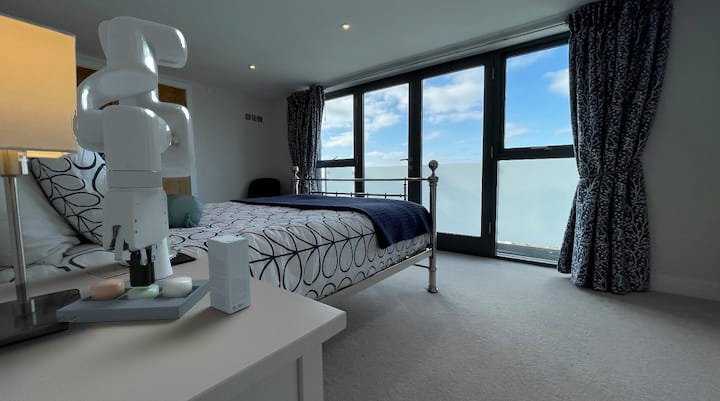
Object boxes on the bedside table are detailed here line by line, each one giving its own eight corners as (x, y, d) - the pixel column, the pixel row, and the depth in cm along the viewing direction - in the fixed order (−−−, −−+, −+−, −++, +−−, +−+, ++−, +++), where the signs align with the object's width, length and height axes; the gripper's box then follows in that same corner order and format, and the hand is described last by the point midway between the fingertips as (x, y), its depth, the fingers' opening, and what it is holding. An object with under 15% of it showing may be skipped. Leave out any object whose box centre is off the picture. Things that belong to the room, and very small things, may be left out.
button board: (115, 292, 57) (114, 282, 57) (211, 289, 58) (210, 279, 58) (57, 323, 45) (56, 310, 45) (179, 318, 47) (178, 306, 46)
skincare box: (251, 305, 51) (249, 238, 50) (229, 315, 48) (226, 243, 47) (231, 297, 55) (229, 234, 53) (209, 306, 51) (205, 238, 50)
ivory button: (172, 289, 54) (171, 277, 54) (196, 288, 54) (196, 276, 54) (157, 299, 50) (156, 286, 50) (184, 298, 50) (183, 285, 50)
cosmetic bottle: (140, 275, 67) (133, 178, 65) (171, 270, 70) (166, 178, 68) (140, 283, 62) (133, 178, 60) (174, 277, 66) (168, 178, 64)
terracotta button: (105, 291, 53) (104, 279, 53) (130, 291, 54) (129, 278, 53) (84, 302, 49) (83, 288, 49) (112, 301, 49) (111, 287, 49)
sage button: (139, 297, 54) (138, 285, 54) (164, 296, 54) (163, 284, 54) (121, 308, 49) (120, 294, 49) (149, 307, 50) (148, 293, 50)
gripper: (141, 180, 57) (147, 271, 59) (73, 183, 42) (84, 305, 44) (181, 180, 58) (186, 270, 60) (128, 183, 43) (137, 303, 45)
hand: (143, 284), depth 52 cm, fingers closed
